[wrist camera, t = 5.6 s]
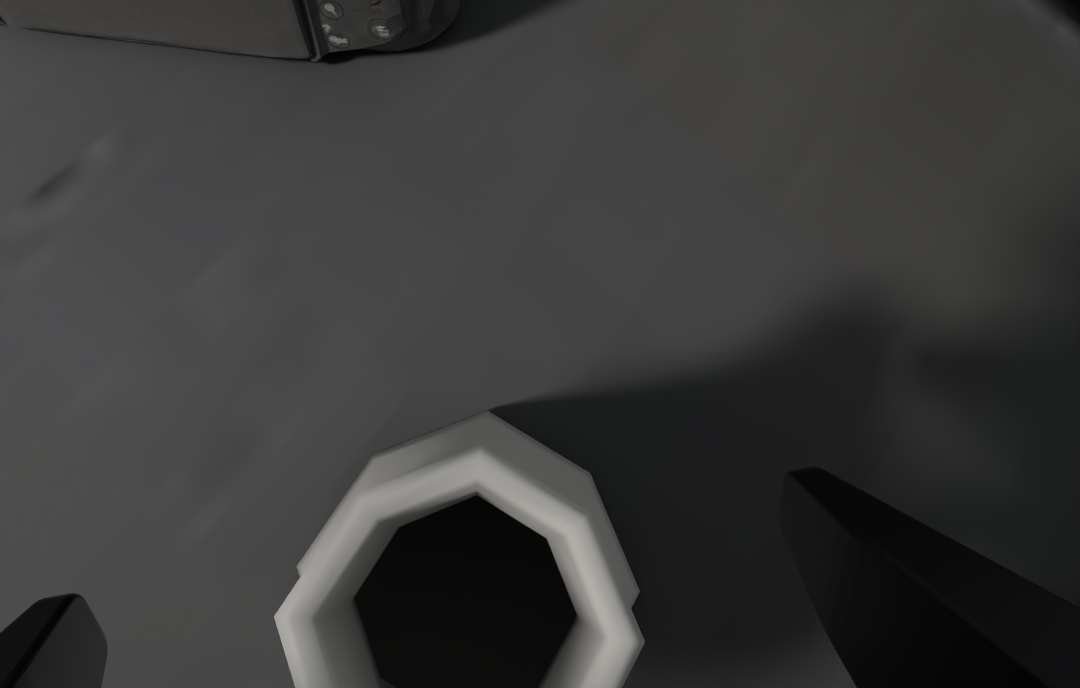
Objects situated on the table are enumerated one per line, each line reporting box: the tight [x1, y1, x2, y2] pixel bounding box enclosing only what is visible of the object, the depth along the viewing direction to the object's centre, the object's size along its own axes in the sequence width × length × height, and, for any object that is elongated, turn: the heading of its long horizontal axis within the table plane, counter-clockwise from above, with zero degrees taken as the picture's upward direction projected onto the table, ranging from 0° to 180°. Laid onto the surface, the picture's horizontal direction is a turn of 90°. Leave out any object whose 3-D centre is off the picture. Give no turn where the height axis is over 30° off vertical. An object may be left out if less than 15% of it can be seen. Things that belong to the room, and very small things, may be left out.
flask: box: [274, 411, 645, 688], centre depth 11 cm, size 7×7×10 cm
